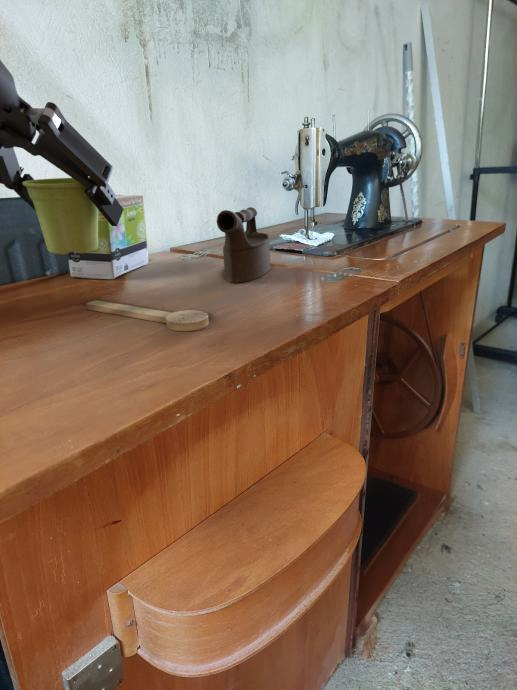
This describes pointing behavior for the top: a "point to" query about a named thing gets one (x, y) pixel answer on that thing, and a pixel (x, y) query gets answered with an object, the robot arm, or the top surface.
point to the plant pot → (64, 215)
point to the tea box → (115, 244)
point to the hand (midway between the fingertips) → (85, 216)
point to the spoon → (155, 315)
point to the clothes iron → (243, 246)
